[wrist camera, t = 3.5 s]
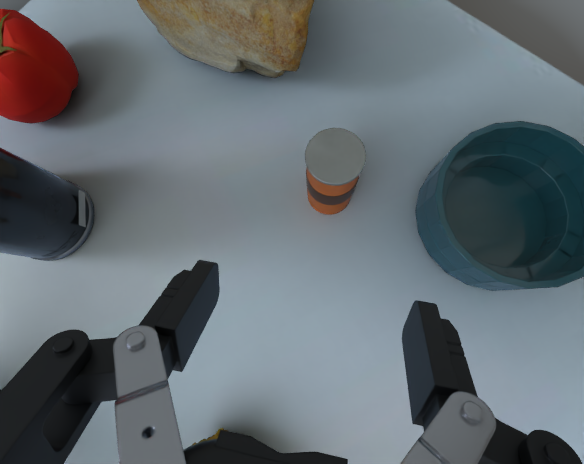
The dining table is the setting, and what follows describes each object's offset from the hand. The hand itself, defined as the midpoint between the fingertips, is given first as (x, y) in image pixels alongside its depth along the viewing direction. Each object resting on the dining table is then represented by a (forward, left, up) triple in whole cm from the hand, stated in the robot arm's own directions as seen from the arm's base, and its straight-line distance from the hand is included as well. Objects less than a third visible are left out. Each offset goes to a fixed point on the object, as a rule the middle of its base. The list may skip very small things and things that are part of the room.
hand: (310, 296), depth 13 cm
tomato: (-41, -9, -22) cm, 47 cm away
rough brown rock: (-31, +16, -22) cm, 41 cm away
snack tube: (-8, +9, -22) cm, 25 cm away
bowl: (+5, +20, -22) cm, 30 cm away
